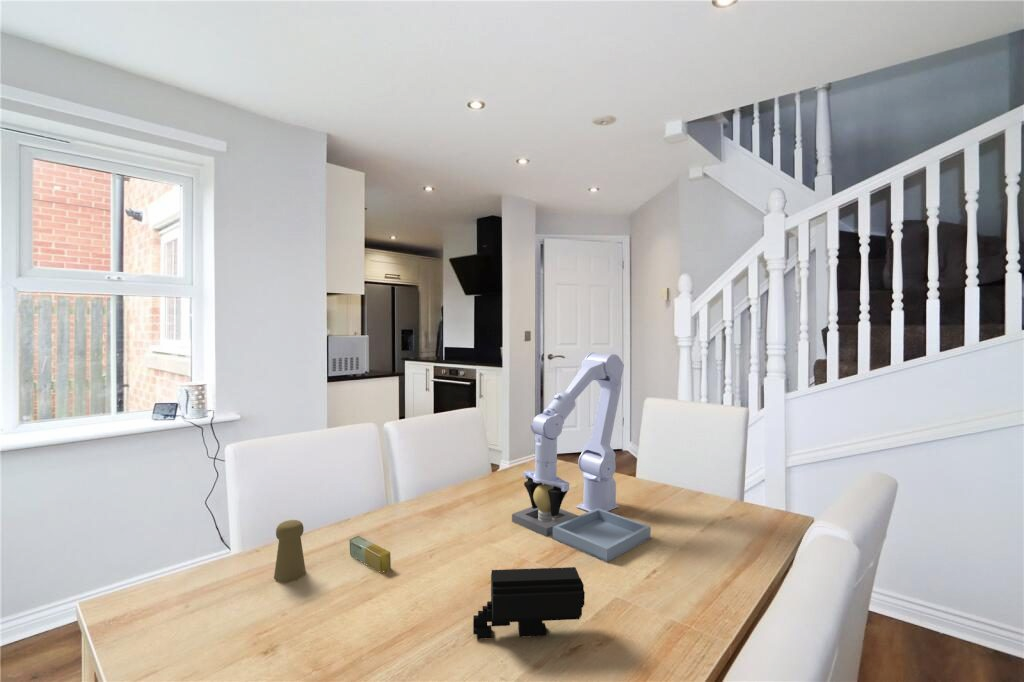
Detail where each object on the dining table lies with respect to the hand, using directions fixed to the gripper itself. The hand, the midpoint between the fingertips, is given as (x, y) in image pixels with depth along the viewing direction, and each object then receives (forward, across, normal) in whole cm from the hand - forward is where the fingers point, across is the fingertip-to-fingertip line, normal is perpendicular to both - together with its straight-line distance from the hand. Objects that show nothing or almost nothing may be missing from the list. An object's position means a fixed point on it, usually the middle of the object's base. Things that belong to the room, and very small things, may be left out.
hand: (545, 511), depth 129 cm
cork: (+3, -17, -59) cm, 61 cm away
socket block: (+3, 0, 0) cm, 3 cm away
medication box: (+3, -11, -44) cm, 46 cm away
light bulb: (+3, 0, 0) cm, 3 cm away
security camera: (+3, +29, -36) cm, 47 cm away
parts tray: (+3, +16, +3) cm, 17 cm away
